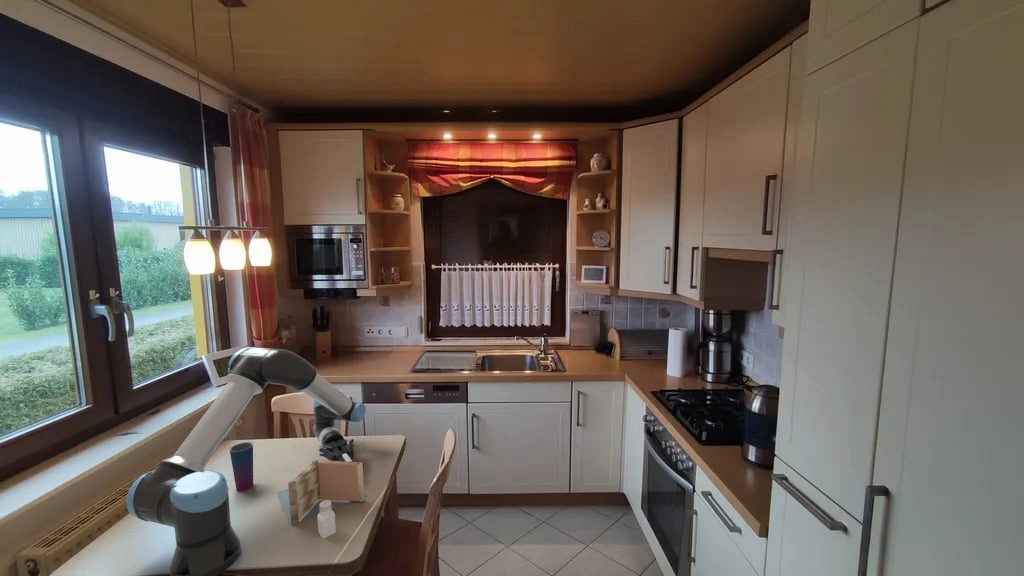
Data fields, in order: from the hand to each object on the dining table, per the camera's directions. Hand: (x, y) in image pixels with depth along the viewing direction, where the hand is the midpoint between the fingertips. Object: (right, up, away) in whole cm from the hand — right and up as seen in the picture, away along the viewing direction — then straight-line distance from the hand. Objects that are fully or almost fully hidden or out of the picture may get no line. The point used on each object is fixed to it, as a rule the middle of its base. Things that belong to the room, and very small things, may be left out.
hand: (349, 464), depth 144 cm
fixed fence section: (-8, -8, -14) cm, 18 cm away
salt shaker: (+3, -10, -24) cm, 26 cm away
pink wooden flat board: (+1, -7, -10) cm, 12 cm away
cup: (-36, -8, -1) cm, 37 cm away
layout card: (-7, -8, -6) cm, 12 cm away
